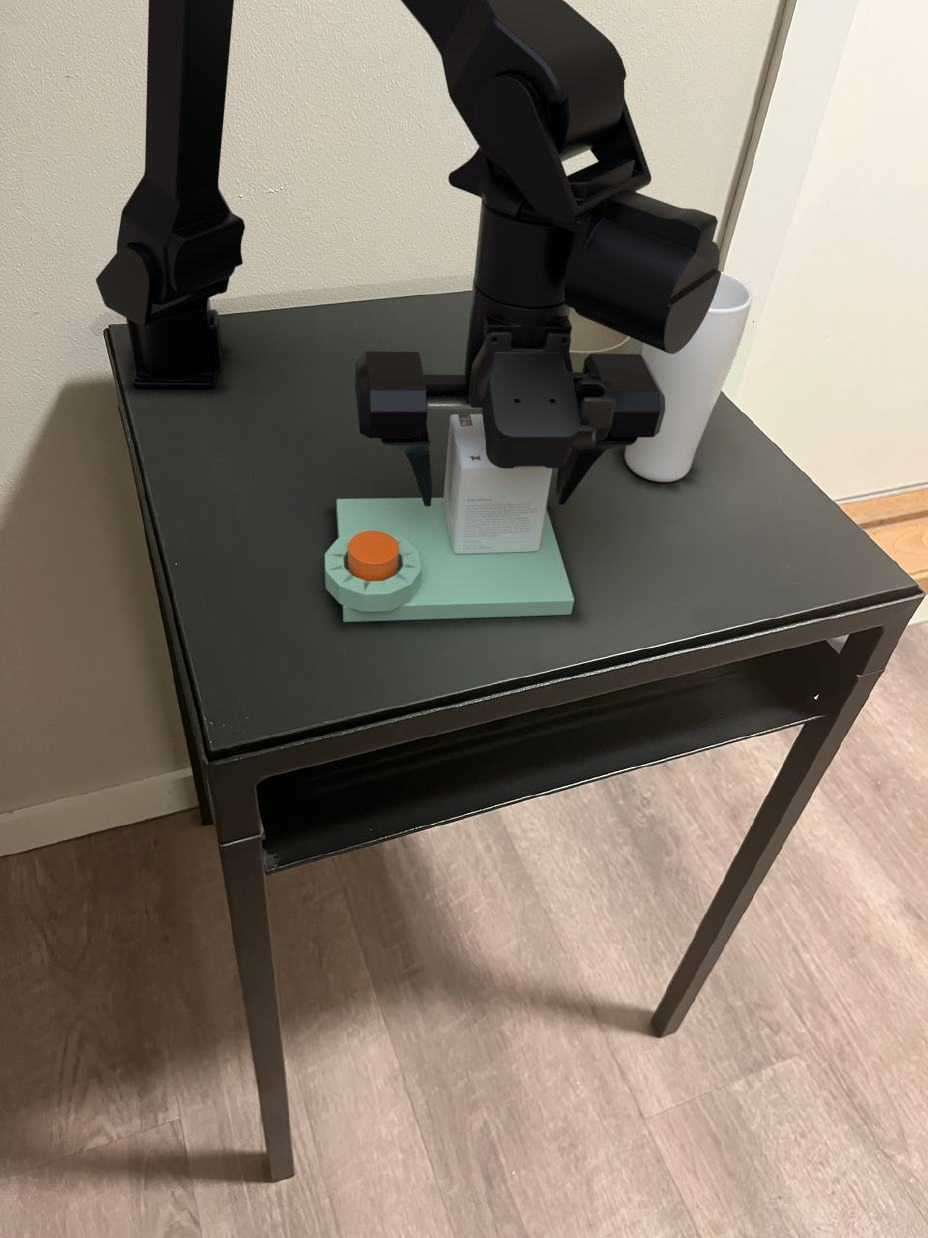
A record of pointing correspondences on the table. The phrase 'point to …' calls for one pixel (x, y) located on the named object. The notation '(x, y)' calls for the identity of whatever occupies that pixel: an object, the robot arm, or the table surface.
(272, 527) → the table surface
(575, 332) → the flower pot
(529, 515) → the white cardboard box
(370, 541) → the button
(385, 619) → the scale
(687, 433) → the drinking glass
